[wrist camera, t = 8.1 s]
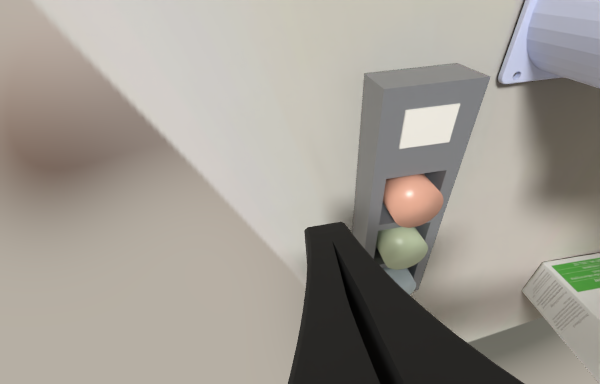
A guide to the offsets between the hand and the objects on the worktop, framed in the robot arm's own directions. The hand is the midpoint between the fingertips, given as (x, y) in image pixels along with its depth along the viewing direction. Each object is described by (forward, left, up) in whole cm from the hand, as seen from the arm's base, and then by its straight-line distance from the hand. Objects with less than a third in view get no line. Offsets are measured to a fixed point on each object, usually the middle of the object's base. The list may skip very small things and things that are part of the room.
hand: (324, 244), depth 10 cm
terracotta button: (-8, +5, -9) cm, 13 cm away
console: (-8, +7, -10) cm, 15 cm away
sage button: (-8, +10, -9) cm, 16 cm away
